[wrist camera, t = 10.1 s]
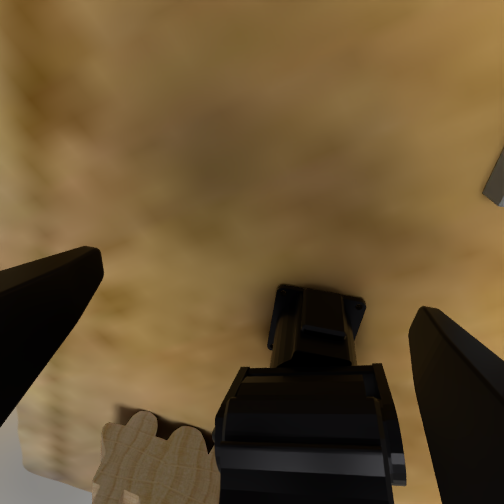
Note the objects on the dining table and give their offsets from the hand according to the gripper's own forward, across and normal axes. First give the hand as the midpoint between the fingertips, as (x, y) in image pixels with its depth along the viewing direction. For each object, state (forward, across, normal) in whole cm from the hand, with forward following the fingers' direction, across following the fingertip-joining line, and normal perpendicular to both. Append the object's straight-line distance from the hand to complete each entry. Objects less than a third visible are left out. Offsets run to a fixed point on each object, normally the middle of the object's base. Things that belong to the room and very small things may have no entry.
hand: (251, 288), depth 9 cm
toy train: (+13, +6, +32) cm, 35 cm away
